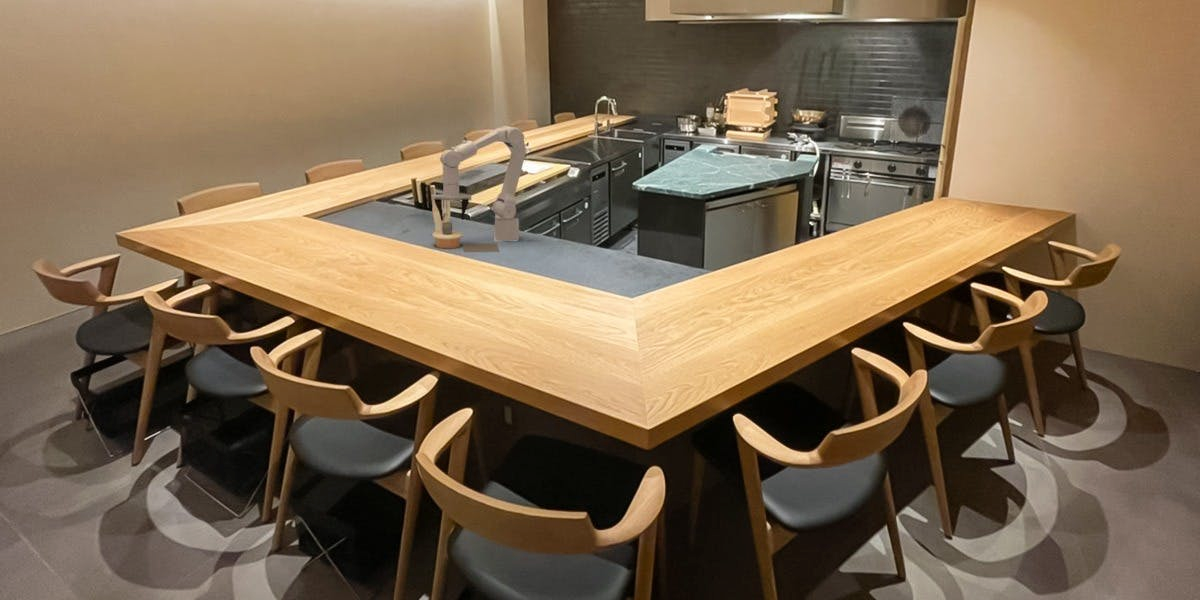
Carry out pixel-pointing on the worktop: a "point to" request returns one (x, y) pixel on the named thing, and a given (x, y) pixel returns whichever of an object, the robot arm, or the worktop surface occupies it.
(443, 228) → the lid
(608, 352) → the worktop surface
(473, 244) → the mat
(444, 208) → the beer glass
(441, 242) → the bowl
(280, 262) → the worktop surface
